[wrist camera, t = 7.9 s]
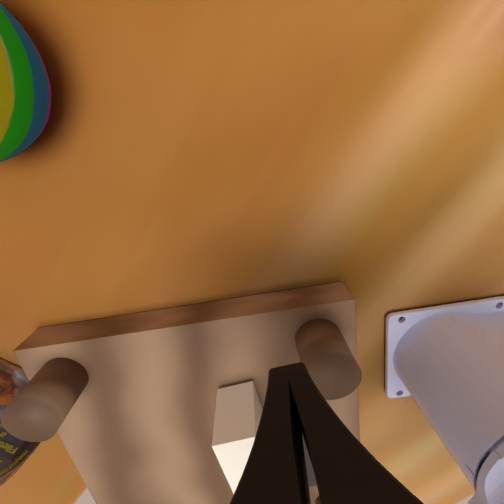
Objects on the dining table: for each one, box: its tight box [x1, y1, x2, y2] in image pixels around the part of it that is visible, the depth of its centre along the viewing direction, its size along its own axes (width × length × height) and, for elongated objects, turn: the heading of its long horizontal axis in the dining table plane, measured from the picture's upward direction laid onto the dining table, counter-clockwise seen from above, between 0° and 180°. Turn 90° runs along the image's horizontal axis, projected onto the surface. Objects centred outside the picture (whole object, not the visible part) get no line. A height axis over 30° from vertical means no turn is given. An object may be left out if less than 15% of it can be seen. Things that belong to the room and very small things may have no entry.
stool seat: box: [1, 282, 361, 504], centre depth 22 cm, size 22×22×6 cm
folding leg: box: [212, 381, 263, 494], centre depth 20 cm, size 15×3×4 cm, turn 15°
